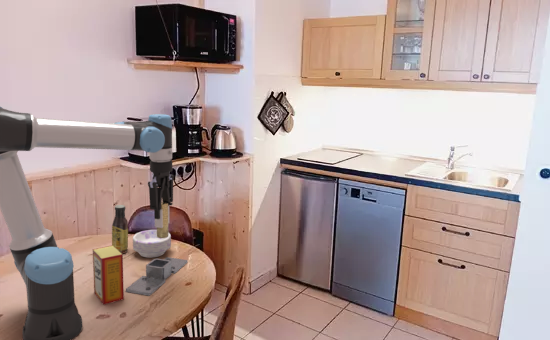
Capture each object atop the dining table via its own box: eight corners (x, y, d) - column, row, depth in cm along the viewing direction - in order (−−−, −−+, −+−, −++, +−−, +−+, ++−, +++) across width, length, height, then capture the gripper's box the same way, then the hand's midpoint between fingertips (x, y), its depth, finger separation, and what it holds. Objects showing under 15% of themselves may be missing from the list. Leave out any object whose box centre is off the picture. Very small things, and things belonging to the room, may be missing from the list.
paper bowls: (135, 263, 172) (135, 243, 170) (131, 249, 186) (130, 231, 184) (174, 258, 178) (174, 239, 177) (167, 245, 192) (167, 227, 190)
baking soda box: (94, 293, 147) (92, 248, 144) (113, 288, 151) (112, 244, 148) (103, 304, 140) (101, 257, 137) (123, 299, 144) (122, 253, 141)
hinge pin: (164, 238, 153) (164, 205, 150) (154, 237, 154) (153, 204, 151) (170, 235, 156) (170, 202, 154) (160, 233, 157) (159, 201, 155)
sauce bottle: (109, 252, 181) (107, 205, 177) (121, 247, 186) (120, 202, 182) (118, 256, 178) (117, 209, 174) (131, 251, 183) (130, 205, 179)
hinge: (149, 295, 147) (149, 282, 146) (125, 291, 149) (125, 278, 148) (187, 262, 175) (187, 250, 174) (166, 259, 177) (166, 247, 176)
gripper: (157, 165, 140) (158, 234, 145) (182, 156, 156) (183, 219, 161) (137, 163, 142) (139, 231, 147) (164, 155, 158) (165, 216, 163)
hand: (162, 224), depth 154 cm, fingers closed on hinge pin, 4 cm apart
